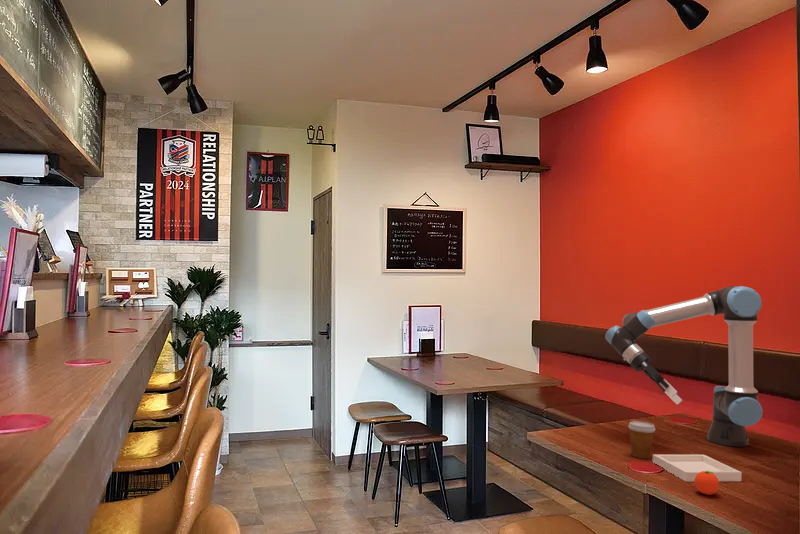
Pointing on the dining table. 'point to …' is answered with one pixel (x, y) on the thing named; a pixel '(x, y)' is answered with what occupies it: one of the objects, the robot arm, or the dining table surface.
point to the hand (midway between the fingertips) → (677, 398)
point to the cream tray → (696, 467)
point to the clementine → (707, 482)
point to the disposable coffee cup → (641, 438)
